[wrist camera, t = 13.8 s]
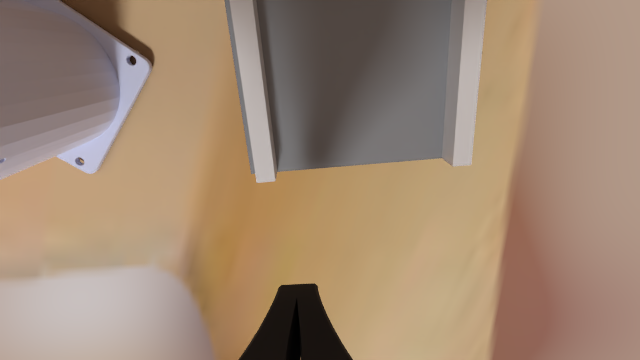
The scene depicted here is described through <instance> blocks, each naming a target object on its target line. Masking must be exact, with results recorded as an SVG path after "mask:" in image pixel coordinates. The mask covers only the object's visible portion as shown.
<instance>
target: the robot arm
mask: <svg viewBox="0 0 640 360" xmlns="http://www.w3.org/2000/svg"><path fill="white" fill-rule="evenodd" d="M131 56H134V57H135V58H136V64H135V65H133V64H132V63H131V62H130V57H131ZM151 70H152V64H151V62H150V61H149V60H148V59H147V58H146V57H144V56H143V55H141V54H140V53H138V52H137V51H135V50H134V49H132V48H131V47H129V46H128V45H126V44H125V43H123V42H122V41H120V40H119V39H117V38H116V37H114V36H113V35H111V34H110V33H108V32H107V31H105V30H104V29H102V28H101V27H99V26H98V25H96V24H95V23H93V22H92V21H90V20H89V19H87V18H86V17H84V16H83V15H81V14H80V13H78V12H77V11H75V10H74V9H72V8H71V7H69V6H68V5H66V4H65V3H63V2H62V1H60V0H0V180H1V179H3V178H6V177H8V176H10V175H13V174H15V173H17V172H20V171H22V170H24V169H27V168H29V167H31V166H34V165H36V164H38V163H41V162H43V161H45V160H48V159H50V158H52V157H55V156H56V157H58V158H60V159H62V160H64V161H65V162H67V163H69V164H71V165H73V166H75V167H76V168H78V169H80V170H82V171H84V172H86V173H88V174H92V173H95V172H96V171H98V170H99V168H100V166H101V165H102V163H103V161H104V159H105V157H106V155H107V153H108V151H109V150H110V148H111V146H112V144H113V142H114V140H115V138H116V136H117V135H118V133H119V131H120V129H121V127H122V125H123V123H124V122H125V120H126V118H127V116H128V114H129V112H130V110H131V108H132V107H133V105H134V103H135V101H136V99H137V97H138V95H139V93H140V92H141V90H142V88H143V86H144V84H145V82H146V80H147V78H148V77H149V75H150V73H151ZM79 157H80V158H82V159H83V160H84V163H81V162H80V160H79ZM300 357H301V360H353V359H352V358H351V356H350V355H349V353H348V352H347V350H346V349H345V347H344V345H343V344H342V342H341V340H340V339H339V337H338V335H337V333H336V332H335V330H334V328H333V326H332V324H331V322H330V320H329V318H328V316H327V314H326V311H325V309H324V307H323V304H322V302H321V299H320V296H319V292H318V286H317V285H316V284H295V285H281V286H280V287H279V288H278V291H277V294H276V296H275V299H274V301H273V303H272V305H271V307H270V309H269V311H268V313H267V315H266V317H265V319H264V321H263V322H262V324H261V326H260V328H259V330H258V331H257V333H256V334H255V336H254V338H253V339H252V341H251V342H250V344H249V345H248V347H247V348H246V350H245V351H244V353H243V354H242V356H241V357H240V358H239V360H300Z"/></svg>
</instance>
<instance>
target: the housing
mask: <svg viewBox="0 0 640 360" xmlns="http://www.w3.org/2000/svg"><path fill="white" fill-rule="evenodd" d="M486 4H487V0H225V7H226V13H227V20H228V26H229V33H230V39H231V46H232V52H233V59H234V65H235V72H236V78H237V85H238V91H239V98H240V104H241V111H242V117H243V124H244V130H245V137H246V143H247V150H248V156H249V163H250V169H251V174H255V175H256V182H257V183H260V182H272V181H276V176H277V172H280V171H292V170H304V169H316V168H328V167H340V166H352V165H364V164H376V163H388V162H401V161H413V160H425V159H437V158H443V159H444V160H445V161H446V162H448V163H449V164H450V165H452V166H464V165H471V162H472V151H473V141H474V130H475V120H476V109H477V99H478V88H479V78H480V67H481V57H482V46H483V36H484V25H485V15H486Z"/></svg>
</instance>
